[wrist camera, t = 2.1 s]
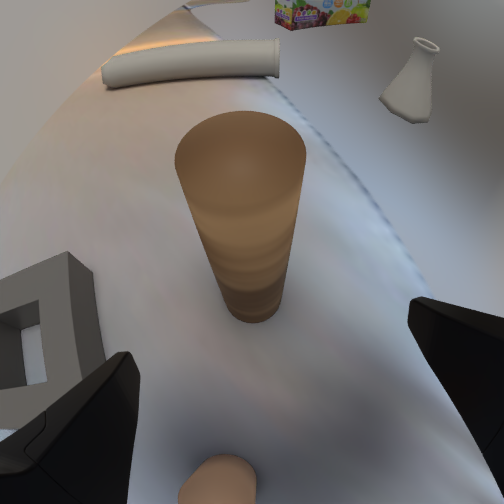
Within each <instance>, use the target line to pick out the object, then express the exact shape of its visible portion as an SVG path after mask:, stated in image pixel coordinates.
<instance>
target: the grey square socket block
mask: <svg viewBox="0 0 504 504" xmlns="http://www.w3.org/2000/svg"><path fill="white" fill-rule="evenodd" d="M37 324H40V327H41V338H42V347H43V355H44V362H45V368H46V375H47V381H48V382H45V383H40V384H34V385H28V386H27V384H26V378H25V371H24V363H23V355H22V345H21V332H20V330H21V329H24V328H27V327H31V326H34V325H37ZM104 362H106V360H105V355H104V350H103V345H102V339H101V334H100V328H99V321H98V315H97V308H96V301H95V293H94V284H93V274H92V272H91V271H90V270H89V269H88V268H87V267H86V266H84V265H83V264H82V263H81V262H80V261H79V260H77V259H76V258H75V257H74V256H73V255H72V254H71V253H69V252H68V251H66V252H64V253H61V254H59V255H56V256H54V257H52V258H49V259H47V260H44V261H42V262H40V263H37V264H35V265H33V266H30V267H28V268H26V269H23V270H21V271H19V272H17V273H14V274H12V275H10V276H8V277H6V278H3V279H1V280H0V429H11V430H17V429H20V428H22V427H23V426H25V425H26V424H27V423H29V422H30V421H31V420H33V419H34V418H35V417H36V416H38V415H39V414H40V413H41V412H43V411H44V410H45V411H46V409H47V408H48V407H49V406H50V405H52V404H53V403H54V402H55V401H57V400H58V399H59V398H60V397H62V396H63V395H64V394H65V393H67V392H68V391H69V390H70V389H72V388H73V387H74V386H75V385H77V384H78V383H79V382H80V381H82V380H83V379H84V378H85V377H87V376H88V375H89V374H91V373H92V372H93V371H94V370H96V369H97V368H98V367H99V366H101V365H102V364H103V363H104Z"/></svg>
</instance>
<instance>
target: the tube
mask: <svg viewBox="0 0 504 504" xmlns="http://www.w3.org/2000/svg"><path fill="white" fill-rule="evenodd" d="M279 45H280V39H279V38H276V39H274V40H226V41H210V42H198V43H188V44H180V45H172V46H165V47H158V48H152V49H147V50H141V51H136V52H131V53H126V54H122V55H117V56H113V57H112V58H111V59H110V60H109V61H108V62H107V63H106V64H105V65H103V66H102V67H101V70H102V81H103V84H105V85H108V86H110V87H113V88H118V87H124V86H130V85H136V84H143V83H150V82H158V81H166V80H176V79H187V78H201V77H221V76H272V77H275V78H279V57H280V56H279V55H280V46H279Z"/></svg>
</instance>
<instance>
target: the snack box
mask: <svg viewBox="0 0 504 504" xmlns="http://www.w3.org/2000/svg"><path fill="white" fill-rule="evenodd" d="M370 2H371V0H275V23H276V24H278V25H281V26H283V27H284V28H286V29H288V30H290V31H293V30H299V29H305V28H310V27H319V26H328V25H337V24H350V23H366V22H367V18H368V12H369V7H370Z"/></svg>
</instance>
